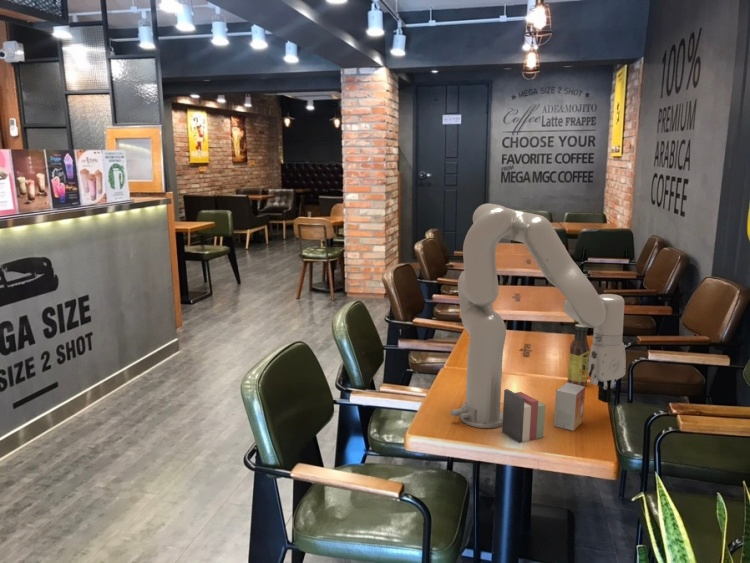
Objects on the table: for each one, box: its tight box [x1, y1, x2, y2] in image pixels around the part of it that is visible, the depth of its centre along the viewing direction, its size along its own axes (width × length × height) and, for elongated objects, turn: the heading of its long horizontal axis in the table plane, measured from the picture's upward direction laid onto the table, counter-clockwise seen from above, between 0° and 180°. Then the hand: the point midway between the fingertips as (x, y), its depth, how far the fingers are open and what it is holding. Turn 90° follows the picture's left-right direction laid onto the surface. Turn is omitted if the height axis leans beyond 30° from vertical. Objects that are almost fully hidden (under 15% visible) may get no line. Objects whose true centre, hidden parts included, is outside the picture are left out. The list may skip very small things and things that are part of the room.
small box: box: [553, 382, 586, 432], centre depth 160 cm, size 8×6×10 cm
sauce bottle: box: [567, 323, 591, 387], centre depth 190 cm, size 6×6×20 cm
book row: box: [501, 388, 546, 444], centre depth 153 cm, size 8×7×12 cm
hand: (604, 400), depth 165 cm, fingers closed
